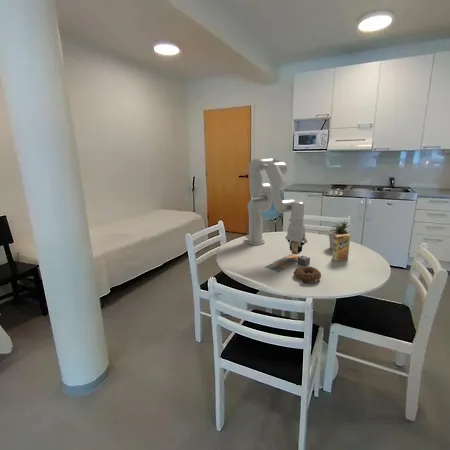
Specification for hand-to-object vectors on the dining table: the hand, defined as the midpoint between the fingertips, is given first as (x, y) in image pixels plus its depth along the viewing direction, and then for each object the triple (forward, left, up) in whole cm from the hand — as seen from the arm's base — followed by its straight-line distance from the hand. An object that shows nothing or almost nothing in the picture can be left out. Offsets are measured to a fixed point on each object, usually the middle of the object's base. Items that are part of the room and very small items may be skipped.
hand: (295, 250), depth 179 cm
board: (0, -10, -5) cm, 12 cm away
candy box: (+20, +19, -6) cm, 28 cm away
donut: (+19, -19, -6) cm, 28 cm away
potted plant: (+11, +36, -6) cm, 38 cm away
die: (+9, -5, -6) cm, 12 cm away
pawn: (0, 0, -1) cm, 1 cm away
